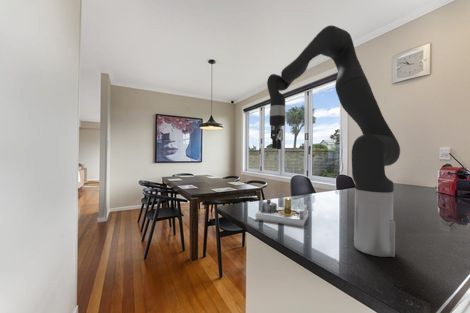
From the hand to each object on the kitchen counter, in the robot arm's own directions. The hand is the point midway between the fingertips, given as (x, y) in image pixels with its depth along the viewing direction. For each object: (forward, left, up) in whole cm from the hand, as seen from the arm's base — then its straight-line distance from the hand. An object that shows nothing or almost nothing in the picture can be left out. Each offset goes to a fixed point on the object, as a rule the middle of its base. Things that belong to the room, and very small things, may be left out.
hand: (276, 148), depth 103 cm
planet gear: (-8, +12, -30) cm, 33 cm away
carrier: (-6, +12, -30) cm, 33 cm away
